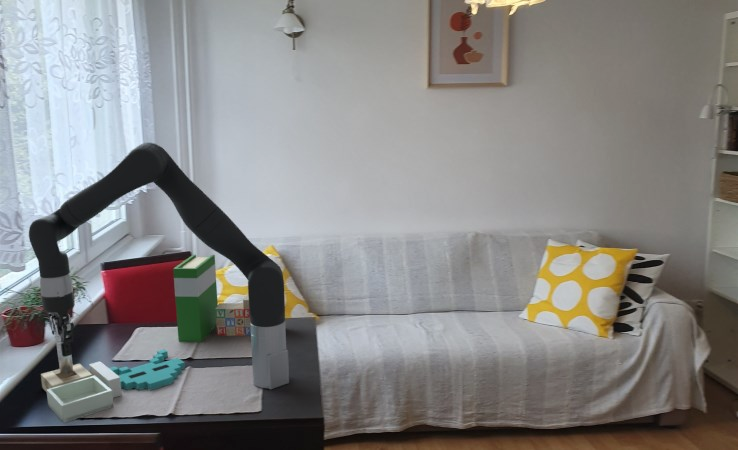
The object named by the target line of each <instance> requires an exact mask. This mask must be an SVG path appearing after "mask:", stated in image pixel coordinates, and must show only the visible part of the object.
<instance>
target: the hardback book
mask: <svg viewBox="0 0 738 450" xmlns="http://www.w3.org/2000/svg"><path fill="white" fill-rule="evenodd" d="M215 258H216V256H215V254H211V255H210V256H209V257H208V256H197V255H196V254H192V255H191V256H189V257H188V258H186V259H185V260H183V261H182V262H180V264H178V265H176V266H175V267H174V268H173V270H172V271H173V272H172V273H173V283H174V284H173V285H174V297H175V299H174V300H175V311H176V324H177V327H176V328H177V337H178V338H177V339H178V342H179V343H180V342H183V343H184V342H186V343H202V342H204V340H205V339H206V337H208V335H210V334H211V332H212V331H213V330H214V329H215V327H216V312H215V309H216V308H217V306H218V304H219V303H218V302H219V301H218V292H217V291H218V290H217V289H218V286H217V274H216V272H217V271H216V259H215Z"/></svg>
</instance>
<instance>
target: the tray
mask: <svg viewBox="0 0 738 450" xmlns="http://www.w3.org/2000/svg"><path fill="white" fill-rule="evenodd" d="M46 396H47V405H48V407H49V408H50V409H51V410H52V412H54V414H55V416H57V417H58V418H59V419H60V421H61V422H62V423H64V424H65V423H68V422H71V421H73V420H74V421H75V420H76V419H77V420H78V419H80V418H83V417H85V416H89V415H93V414H95V413H98V412H102V411H104V410H107V409H111V408H113V407H114V398H113V394H112V390H111V389H110V388H109V387H108V386H106V385H105V384H104V383H103V382H102V381H101V380H99V379H98V378H97V377H96V376H91V377H88V378H85V379H81V380H78V381H74V382H71V383H67V384H64V385H60V386H57V387H53V388H50V389H47V392H46Z"/></svg>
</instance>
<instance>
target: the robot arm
mask: <svg viewBox="0 0 738 450" xmlns="http://www.w3.org/2000/svg"><path fill="white" fill-rule="evenodd" d="M148 184H149V185H150V184H155V185H156V186H157V187H158V188H159V189H160V190H161V191H162V192H163V193H164V194H165V195H166V196H167V197H168V198H169V199H170V200H171V203H172V204H173V205H174V208H175V209H176V211H177V213H178V215H179V217H180V218H181V220H182V221H183V223H184V225H185V226H186V227H187V228H188V229H189V230H190V231H191V232H192V234H194V235H195V236H196V237H197V238H198V239H199V240H200V242H202V243H203V244H204V245H206V247H209V248H210V249H211V250H212V251H215V252H216V253H218V254H220V255H222V257H224V258H226V259H228V260H229V261H230V262H231V263H232V264H234V266H235V267H236V268H237V269H238V270H239V271H240V272H241V273H242V275H243V276H244V277H245V278H246V280H247V292H248V293H247V294H248V296H249V313H250V326H251V335H250V343H251V363H252V364H251V365H252V379H253V385H255V386H256V387H257V388H262V389H269V390H273V389H277V388H278V387H282V386H285V385H286V384H289V383H290V371H289V366H290V365H289V350H288V349H287V336H286V304H285V303H286V302H285V297H286V296H285V281H284V274H283V270H282V269H281V267H280V266H279V264H278V263H277V262H276V261H274V260H273V259H272V258H271V257H269V256H268V255H267V254H265V253H264V252H263V251H262V250H261V249H259V248H258V247H257V246H256V245H255V244H254V243H252V241H250V240H249V238H248V237H247V236H246V235H245V234H244V232H243V231H242V230H241V229H240V227H238V226H237V225H236V224H235V222H234V221H233V220H232V219H231V218H230V217H229V216H228V215H227V214H226V213H225V212H224V211H223V210H222V209H221V208H220V207H219V206H218V204H216V203H215V202H214V201H213V200H212V199H211V198H210V197H209V196H208V195H207V194H205V193H204V191H203V190H202V189H200V187H198V185H197V184H195V183H194V182H193V181H192V180H191V179H190V178H189V177H188V176H187V175H186V173H185V172H183V170H182V169H181V168H180V166H179V165H178V164H177V163H176V161H175V160H174V159H173V158H172V156H171V155H170V154H169V153H168V151H166V150H165V149H164V148H163V147H162V146H161V145H159V144H158V143H153V142H144V143H140V144H139V145H137V146H136V147H134V148H132V149H131V150H130V151H129V152H128V153H127V155H126V156H125V157H124V159H122V160H121V162H119V163H118V164H117V166H116V167H114V168H113V169H112V170H111V171H110V172H109V173H107V174H106V175H105V176H103V177H102V178H101V179H98V180H97V181H95V182H94V183H92V184H90V185H89V186H88V185H87V186H86V187H85V188H83V189H82V190H80V191H79V192H77V193H75V194H74V195H73V196H71V197H70V198H68V199H66V200H65V201H64V202H63V203H62V204H61V206H60V207H59V208H58V209H57V210H56V211H53V212H52V213H49V214H48V215H45V216H43V217H42V216H41V217H40V218H37V219H35V220H33V221H32V222H31V224H30V225H29V229H28V238H29V242H30V245H31V248H32V250H33V252H34V255H35V257H36V259H37V261H38V270H39V279H40V280H39V286H40V287H39V288H40V295H41V302H42V303H41V304H42V310H43V311H44V312H46V313H47V316H48V317H47V318H48V321H49V325H50V330H51V334H52V336H53V338H54V339H55V340H56V336H55V333H56V332H57V335H59V337H60V343H61V351H62V356H64V357H66V356H69V355H72V354H73V353H72V346H71V343H72V342H74V336H75V335H74V332H75V329H74V328H75V323H74V322H72V319H71V315H70V314H69V312H68V311H69V310H72V309H73V308H74V307H75V298H74V297H75V295H74V287H73V286H74V285H73V280H72V277H71V269H70V261H69V257H68V254H67V252H65V251H63V250H60V248H59V244H58V242H59V241H61V240H63V239H65V238H67V237H68V236H69V235H71V234H72V233H73V232H75V231H76V230H77V229H78V228H79V227H80V226H81V225H83V224H85V223H87V222H88V221H90V220H91V219H93V218H94V217H96V216H98V215H99V214H100V213H102V212H103V211H104V210H105V209H107V208H108V207H109V206H110V205H112V204H113V203H114V202H116V201H117V200H119V199H120V198H121V197H124V196H125V195H127V194H129V193H131V192H133V191H135V190H138V189H139V188H143V187H145V186H147V185H148ZM66 336H68V337H67V338H66Z"/></svg>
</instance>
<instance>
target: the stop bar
mask: <svg viewBox="0 0 738 450" xmlns="http://www.w3.org/2000/svg"><path fill="white" fill-rule="evenodd" d="M88 367H89V372H90V373H91V374H92V376H96V377H97V378H98V379H99V380H101V381H102V382H103V383H104V384H105V385H106V386H108V387H109V388H110V389H111V390H112V394H113V399H114V398H117V397H120V396H122V394H123V393H122V388H121V382H120V377H119V376H118V375H117V374H115V373H114V372H113V371H112V370H110V369H109V368H110V367H108V366H107V365H105V364H104V363H103V362H101V361H95V362H93V363H89V365H88Z"/></svg>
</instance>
